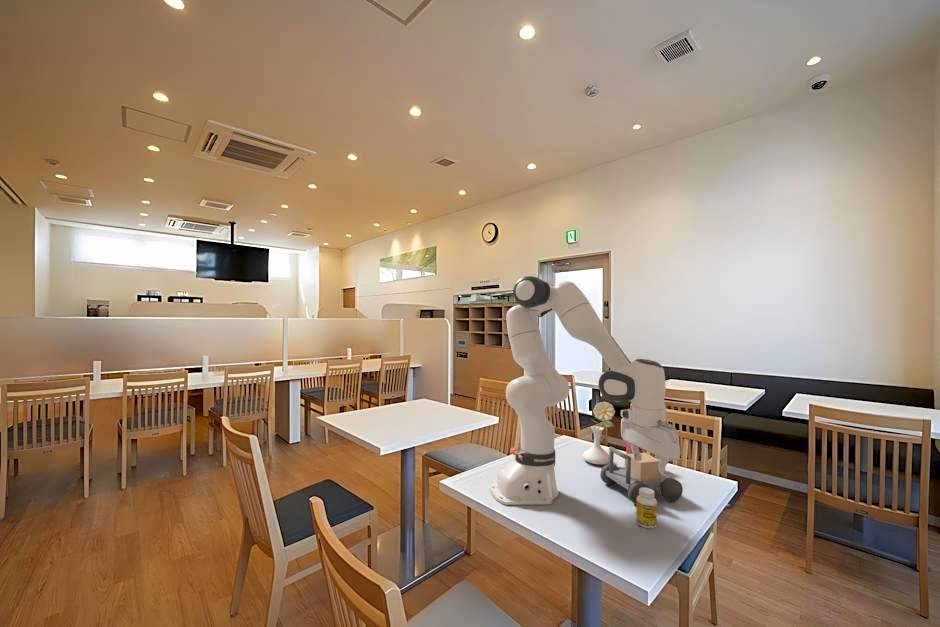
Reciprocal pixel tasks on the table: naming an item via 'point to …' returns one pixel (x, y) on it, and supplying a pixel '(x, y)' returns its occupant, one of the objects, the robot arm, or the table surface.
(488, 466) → the table surface
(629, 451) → the soda can
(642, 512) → the supplement bottle
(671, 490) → the trolley
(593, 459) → the flower in vase
